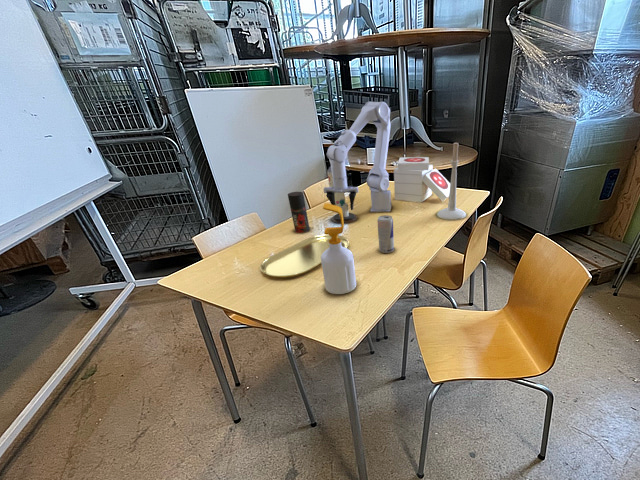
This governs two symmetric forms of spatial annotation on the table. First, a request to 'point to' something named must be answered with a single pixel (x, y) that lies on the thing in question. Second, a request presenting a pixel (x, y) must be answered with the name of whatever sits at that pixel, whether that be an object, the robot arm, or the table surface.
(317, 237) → the serving platter
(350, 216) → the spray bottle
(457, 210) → the candlestick
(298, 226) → the deodorant
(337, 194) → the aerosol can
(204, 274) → the table surface
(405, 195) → the pizza boxes
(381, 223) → the energy drink
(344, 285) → the soap bottle
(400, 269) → the table surface
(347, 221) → the turntable base
